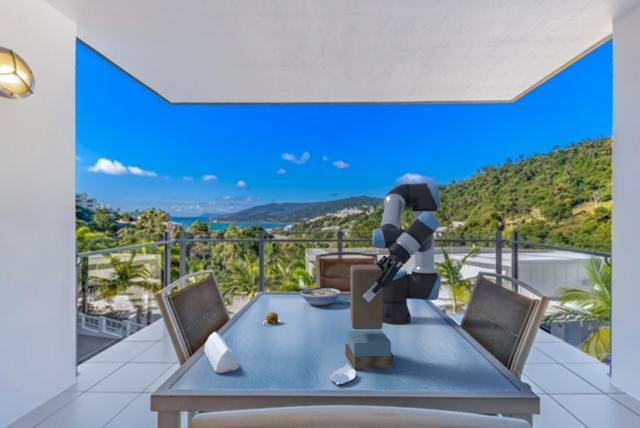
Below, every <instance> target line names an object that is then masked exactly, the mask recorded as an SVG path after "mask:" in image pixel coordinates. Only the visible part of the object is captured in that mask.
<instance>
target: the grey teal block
mask: <svg viewBox="0 0 640 428" xmlns="http://www.w3.org/2000/svg"><path fill="white" fill-rule="evenodd" d="M347 344H348V345H349V347H350V349H351V351H352V353H353V355H354V357H372V356H391V353H392V341H391V340H390V339H389V338H388V337H387V335H386V334H385V333H384V332H383V330H382V329H369V330H349V331H348V330H347Z"/></svg>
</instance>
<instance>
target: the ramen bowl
mask: <svg viewBox="0 0 640 428" xmlns="http://www.w3.org/2000/svg"><path fill="white" fill-rule="evenodd" d="M297 292H300V295H301V297H302V298H303V299H304V301H306V302H307V303H309V304H311V305H314V306H315V307H325V306H328V305H329V304H331V303H334V302H336V300H337V299H338V298H339V296H340V295H341V290H339V289H336V288H335V285H328V286H321V287H311V288H310V287H308V288H305V289H299V290H298V289H297Z"/></svg>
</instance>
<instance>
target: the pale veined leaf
mask: <svg viewBox="0 0 640 428" xmlns="http://www.w3.org/2000/svg"><path fill="white" fill-rule="evenodd" d="M356 373H357V371H355V369H354V368H351V366H350V365H349V363H348V362H346V364H345V365H344V366H343V367H340V368H338V369H336V370H334V371H332V372H331V373H330V374H329V379H330V381H333V382H335V384H336V386H338V385H339V382H340V381H339V382H336V381H337V380H336V381H335V380H334V379H333V377H334V375H335V374H344V375H347V376H348V377H349V381H347V380H346V383H348V382H350V381H351V380H354V379H355V377H356ZM347 376H346V377H347ZM342 382H343V381H342ZM342 382H340V385H341V384H345V382H343V383H342Z"/></svg>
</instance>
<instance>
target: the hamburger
mask: <svg viewBox="0 0 640 428" xmlns="http://www.w3.org/2000/svg"><path fill="white" fill-rule="evenodd" d="M278 316H279V314H278V313H277V312H274V311H273V312H269V313H268V314H267V315H266V320H264V321H263V322H262V324H263V325H265V323H266V326H269V327H275V326H279V325H281V324H282V323H283V321H282V320H280V319H279V317H278ZM278 323H279V324H278Z"/></svg>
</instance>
